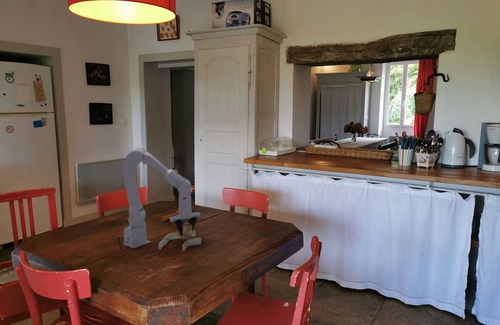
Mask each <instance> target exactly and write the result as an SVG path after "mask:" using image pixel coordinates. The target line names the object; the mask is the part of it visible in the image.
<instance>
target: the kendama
mask: <svg viewBox="0 0 500 325" xmlns="http://www.w3.org/2000/svg"><path fill="white" fill-rule="evenodd" d="M176 215H179V208H178V209H177V210H176V212H174V213H170V214H166V215H163V216H160V218H159V219H160V222H161V223H165V222H167V221H168V220H170V217H173V216H176Z"/></svg>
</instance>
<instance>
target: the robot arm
mask: <svg viewBox="0 0 500 325" xmlns="http://www.w3.org/2000/svg"><path fill="white" fill-rule="evenodd" d="M141 163H142V165H149V166H150V167H152V168H154V169H155V170H156V171H158V172H159V173H161V175H163V177H164V180H165V181H166V182H168V183H169V184H170V185H171V186H173V187H174V188H175V189H176V188H177V191H178V192H177V193H178V209H179V215H175V216H173V217H170V219H169V221H170V222H171V223H173V222H174V223H175V226H176V227H177V230H178V233H179V235H181V236H182V235H183V230H182V228H183V224H184V222H183V221H184V220H188V222H187V223H189V224H191V225H192V232H193V231H194V228H195V226H196V223H197V221H198V219H197V218H201V213H200V212H199V211H198V212H192V196H191V195H192V192H191V190H192V184H191V181H190V180H189V179H186V177H184V176H182V175H180V173H178V170H176V169H170V168H167V167H166V166H165V165H164V164H163V163H162V162H160V161H159V159H157V158H156V157H155V156H154V155H152V154H151V153H150V152H148V151H146V150H145V149H144V148H141V147H136V148H135V149H133V150H131V151H130V152H129V153H128V154H126V157H125V160H124V161H123V164H122V167H121V170H122V175H123V180H124V187H125V191H126V195H127V200H128V201H127V202H128V205H129V208H128V220H127V222H128V223H129V225H128V227H125V228H124V230H123V242H124V243H123V245H124V246H127V247H129V248H131V249H135V248H139V247H141V246H144V245H147V244H150V243H151V240H147V224H146V221H145V219H146V217H147V212H146V211H145V209H144V208H143V204H142V203H141V199H140V194H139V189H138V182H137V179H136V178H137V177H136V172H135V169H136V168H137V167H138V165H140V164H141Z"/></svg>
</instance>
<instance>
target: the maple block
mask: <svg viewBox="0 0 500 325" xmlns="http://www.w3.org/2000/svg"><path fill="white" fill-rule="evenodd" d="M182 230H183V235H182V236H181V235H180V237H181V238H180V239H182V240H187V239H193V237H192V225H191V224H189V222H185V223H184V222H183V228H182Z"/></svg>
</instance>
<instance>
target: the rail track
mask: <svg viewBox="0 0 500 325" xmlns="http://www.w3.org/2000/svg"><path fill="white" fill-rule="evenodd" d="M178 239H182V238H181V237H180V235H179V232H173V233H171V232H170V233H168V234H167V235H166V236H165V237H164V238H163V239H162V240H160V242H159V243H158V250H159V251H161V249H163V248H164V247H165V245H166V244H168V242H170V241H172V240H178ZM196 245H202V237H196V230H193V232H192V238H187V239H185V241H184V242H183V244H182V252H184V251H185V250H187V248H188V247H190V246H196Z"/></svg>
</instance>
